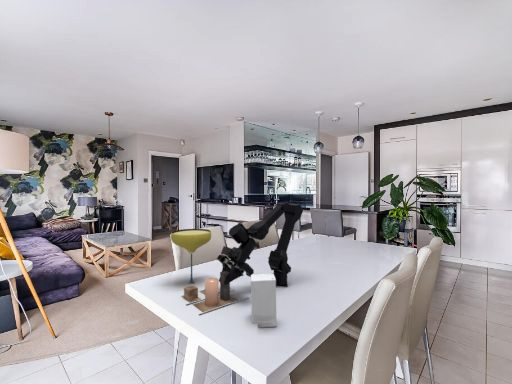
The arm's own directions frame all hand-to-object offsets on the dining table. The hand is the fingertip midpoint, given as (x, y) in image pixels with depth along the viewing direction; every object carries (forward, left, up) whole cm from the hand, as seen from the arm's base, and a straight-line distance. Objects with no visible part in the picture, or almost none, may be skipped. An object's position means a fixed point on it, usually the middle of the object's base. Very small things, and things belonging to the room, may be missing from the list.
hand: (222, 283), depth 102 cm
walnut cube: (+13, -1, -7) cm, 15 cm away
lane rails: (0, 0, -8) cm, 8 cm away
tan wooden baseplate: (+2, +2, -8) cm, 8 cm away
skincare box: (-17, +13, -8) cm, 23 cm away
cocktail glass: (+18, -18, -8) cm, 27 cm away
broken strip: (+10, -5, -8) cm, 13 cm away
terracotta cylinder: (+3, +3, -7) cm, 8 cm away
